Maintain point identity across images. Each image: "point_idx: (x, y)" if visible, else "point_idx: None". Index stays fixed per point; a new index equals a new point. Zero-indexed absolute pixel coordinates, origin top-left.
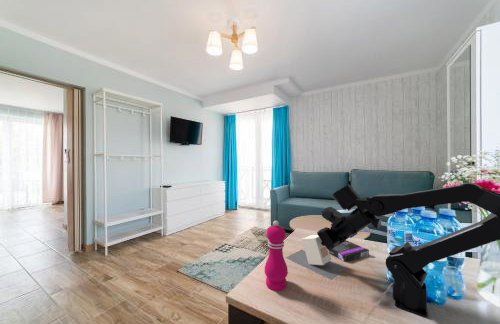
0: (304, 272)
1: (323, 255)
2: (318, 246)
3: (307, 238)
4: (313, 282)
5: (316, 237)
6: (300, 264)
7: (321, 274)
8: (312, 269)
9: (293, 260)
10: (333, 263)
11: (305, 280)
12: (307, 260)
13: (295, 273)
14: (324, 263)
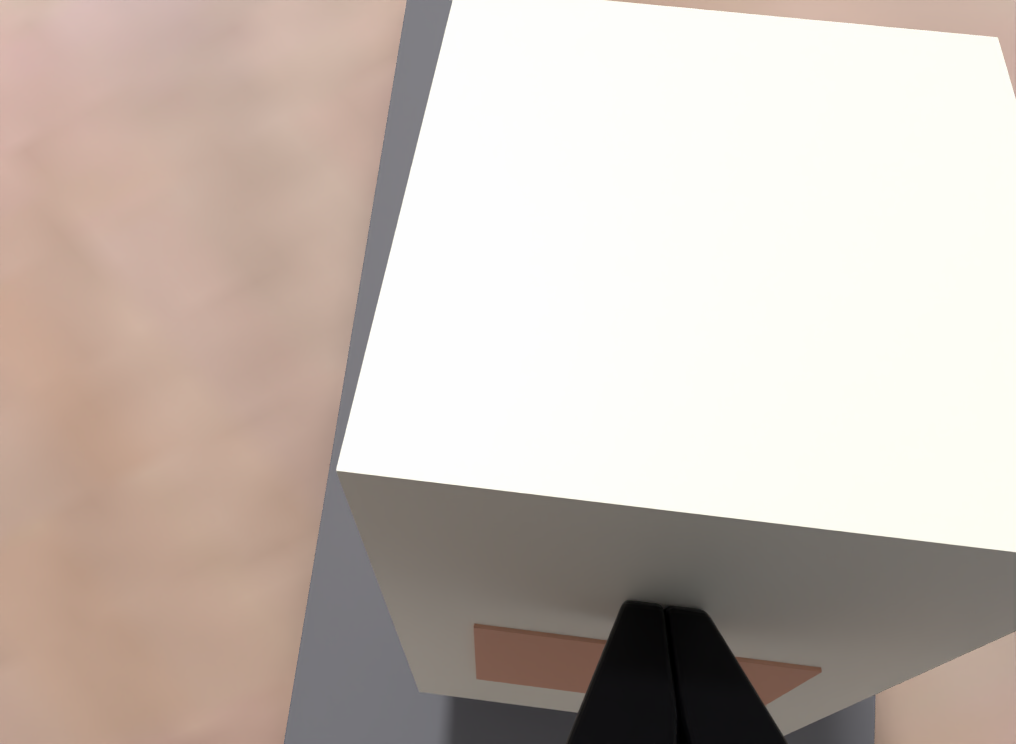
0: (219, 439)
1: (532, 679)
2: (429, 590)
3: (452, 136)
4: (37, 679)
5: (494, 461)
6: (366, 286)
7: (298, 703)
8: (347, 514)
9: (413, 137)
10: (828, 727)
11: (15, 556)
12: None
13: (104, 347)
14: (486, 699)
